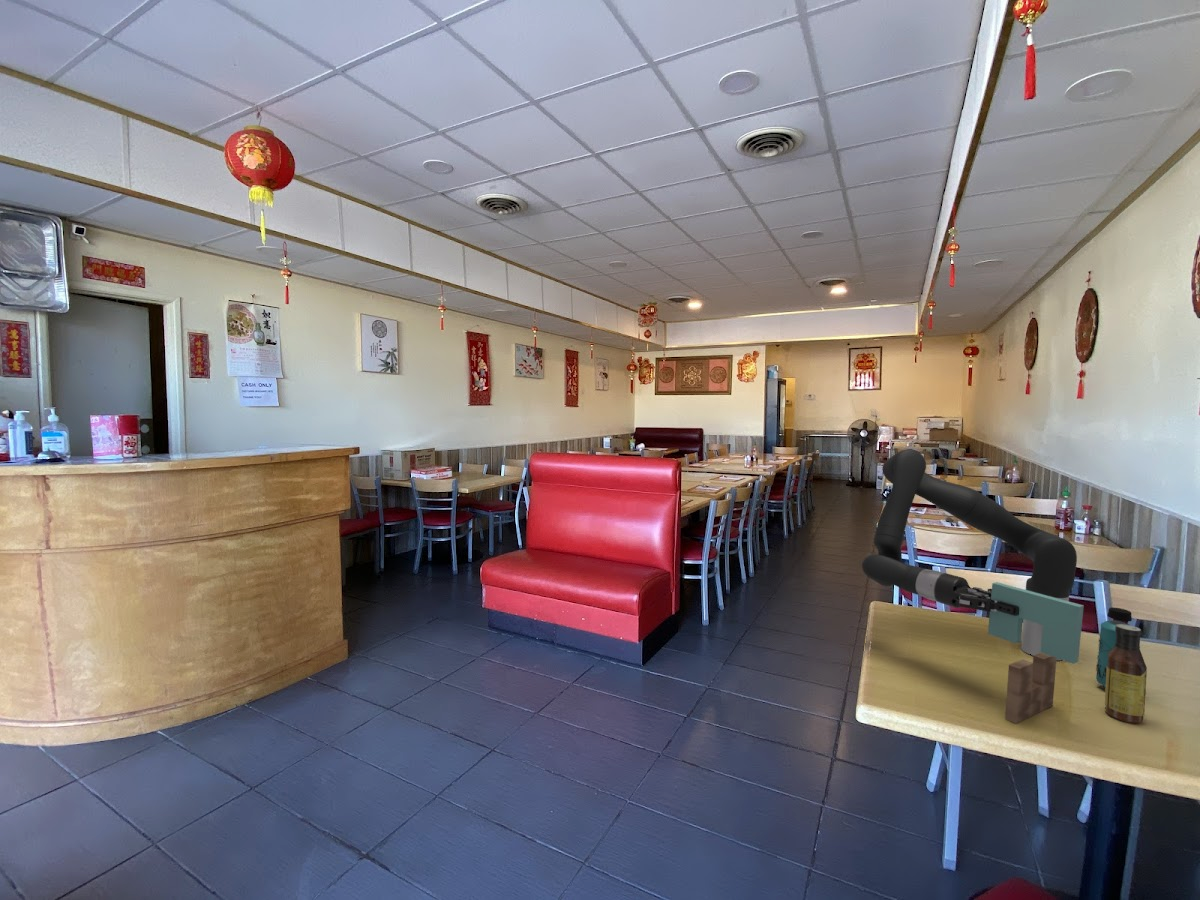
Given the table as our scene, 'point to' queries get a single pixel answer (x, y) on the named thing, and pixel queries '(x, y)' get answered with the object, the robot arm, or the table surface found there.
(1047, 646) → the teal slotted plate
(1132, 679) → the sauce bottle
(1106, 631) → the teal bottle
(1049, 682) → the walnut slotted plate
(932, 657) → the table surface
